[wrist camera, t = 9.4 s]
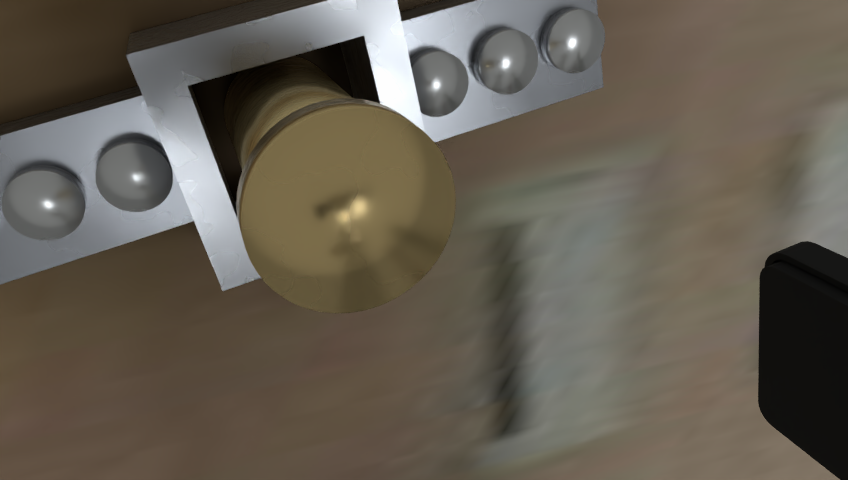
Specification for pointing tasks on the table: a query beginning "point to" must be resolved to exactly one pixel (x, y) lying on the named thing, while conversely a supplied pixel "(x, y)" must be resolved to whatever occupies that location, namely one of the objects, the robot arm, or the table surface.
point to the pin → (334, 189)
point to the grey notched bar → (252, 46)
